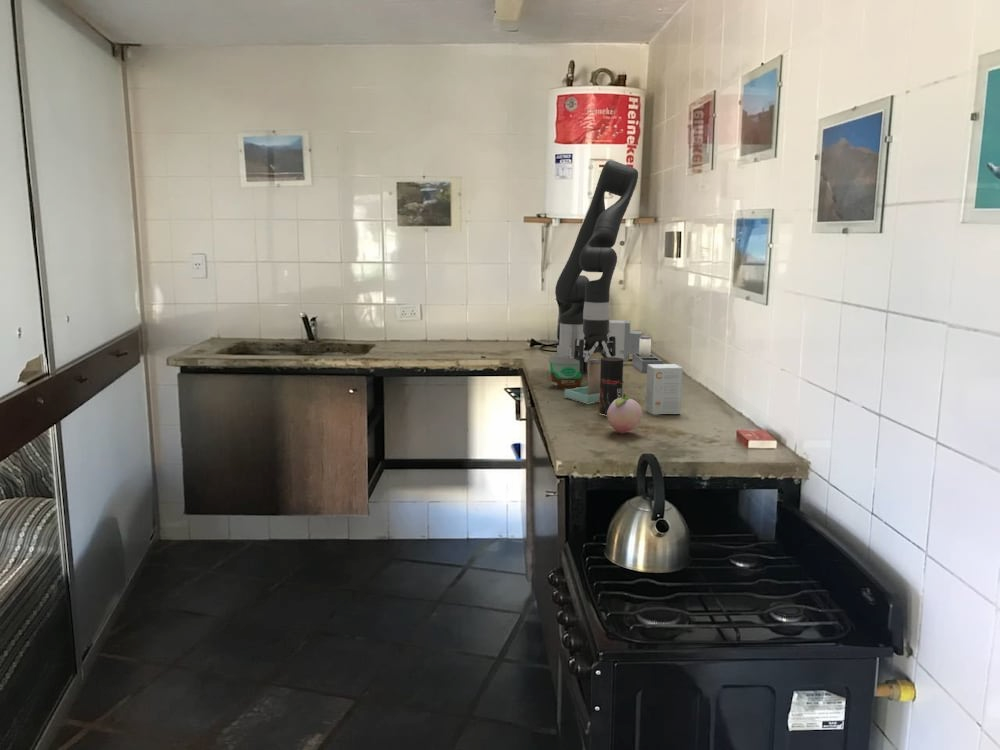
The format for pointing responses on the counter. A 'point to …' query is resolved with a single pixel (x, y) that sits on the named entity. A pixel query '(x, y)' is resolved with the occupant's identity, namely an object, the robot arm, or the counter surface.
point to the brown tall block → (593, 376)
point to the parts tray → (582, 395)
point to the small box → (664, 388)
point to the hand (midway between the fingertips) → (594, 372)
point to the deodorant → (610, 382)
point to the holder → (644, 355)
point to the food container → (565, 372)
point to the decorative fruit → (624, 414)
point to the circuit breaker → (624, 339)
